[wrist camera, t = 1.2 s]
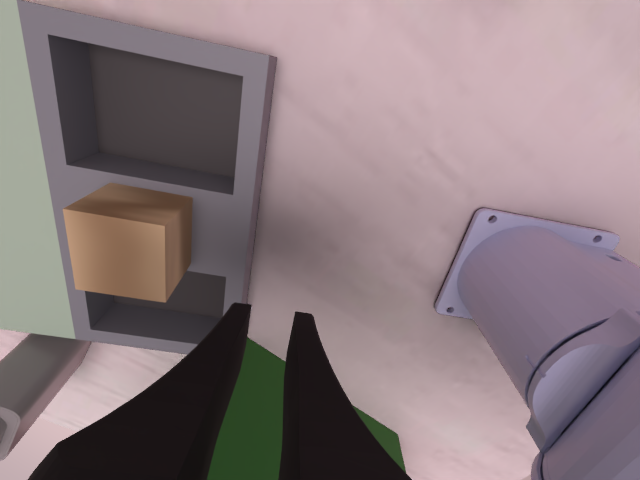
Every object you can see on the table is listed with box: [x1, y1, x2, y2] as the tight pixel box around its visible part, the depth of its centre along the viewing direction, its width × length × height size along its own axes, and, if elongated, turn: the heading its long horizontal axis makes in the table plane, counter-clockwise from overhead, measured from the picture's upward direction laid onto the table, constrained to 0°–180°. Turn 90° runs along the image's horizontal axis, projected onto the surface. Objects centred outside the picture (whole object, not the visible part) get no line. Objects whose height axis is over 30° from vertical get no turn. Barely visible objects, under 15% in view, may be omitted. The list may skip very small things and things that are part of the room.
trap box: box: [0, 0, 277, 354], centre depth 19 cm, size 16×18×3 cm
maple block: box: [63, 182, 193, 303], centre depth 16 cm, size 4×4×4 cm
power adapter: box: [0, 333, 92, 461], centre depth 20 cm, size 3×5×12 cm, turn 147°
